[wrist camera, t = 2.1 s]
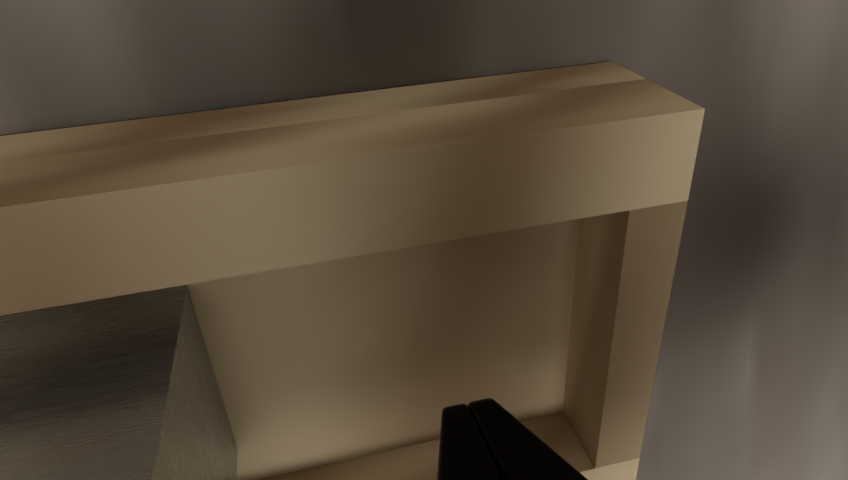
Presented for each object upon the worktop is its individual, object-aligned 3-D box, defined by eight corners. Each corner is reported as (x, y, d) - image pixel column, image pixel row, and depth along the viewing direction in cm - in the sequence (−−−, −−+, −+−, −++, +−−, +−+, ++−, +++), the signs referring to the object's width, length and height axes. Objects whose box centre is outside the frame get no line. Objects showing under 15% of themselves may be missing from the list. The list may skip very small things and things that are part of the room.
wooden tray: (612, 61, 11) (705, 108, 9) (576, 411, 16) (631, 503, 14) (-622, 211, 8) (-977, 344, 6) (-224, 590, 13) (-333, 748, 11)
